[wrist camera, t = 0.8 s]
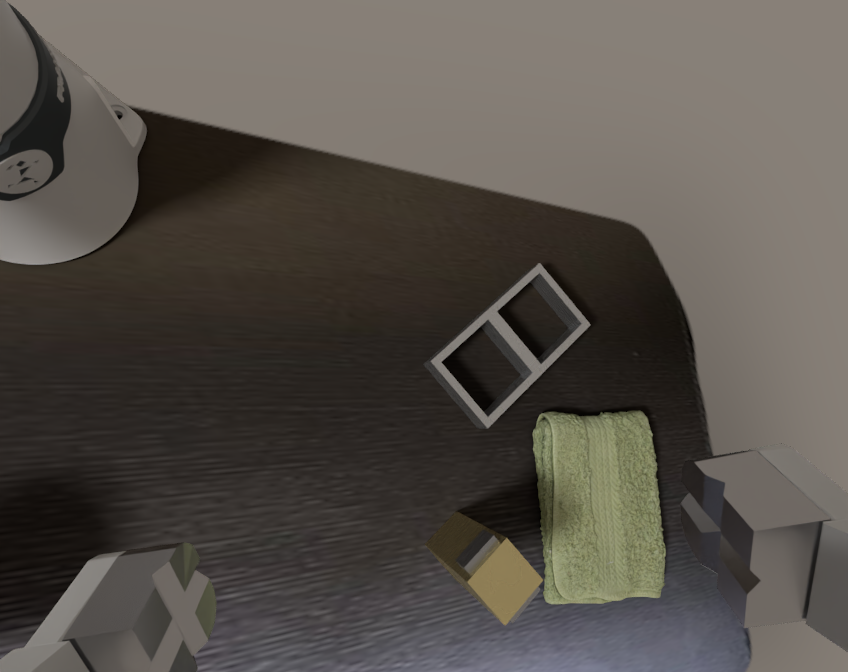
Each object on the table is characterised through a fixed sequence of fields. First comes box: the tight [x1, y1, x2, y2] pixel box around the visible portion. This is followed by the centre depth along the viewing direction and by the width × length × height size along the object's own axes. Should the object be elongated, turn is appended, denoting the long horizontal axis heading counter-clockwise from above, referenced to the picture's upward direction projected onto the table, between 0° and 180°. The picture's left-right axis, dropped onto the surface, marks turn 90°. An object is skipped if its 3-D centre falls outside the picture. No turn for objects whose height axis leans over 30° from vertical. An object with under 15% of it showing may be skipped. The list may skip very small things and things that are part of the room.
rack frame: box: [423, 263, 591, 428], centre depth 48 cm, size 8×15×2 cm, turn 132°
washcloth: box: [533, 410, 666, 604], centre depth 48 cm, size 13×18×3 cm
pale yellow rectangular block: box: [425, 511, 543, 625], centre depth 40 cm, size 5×4×11 cm
